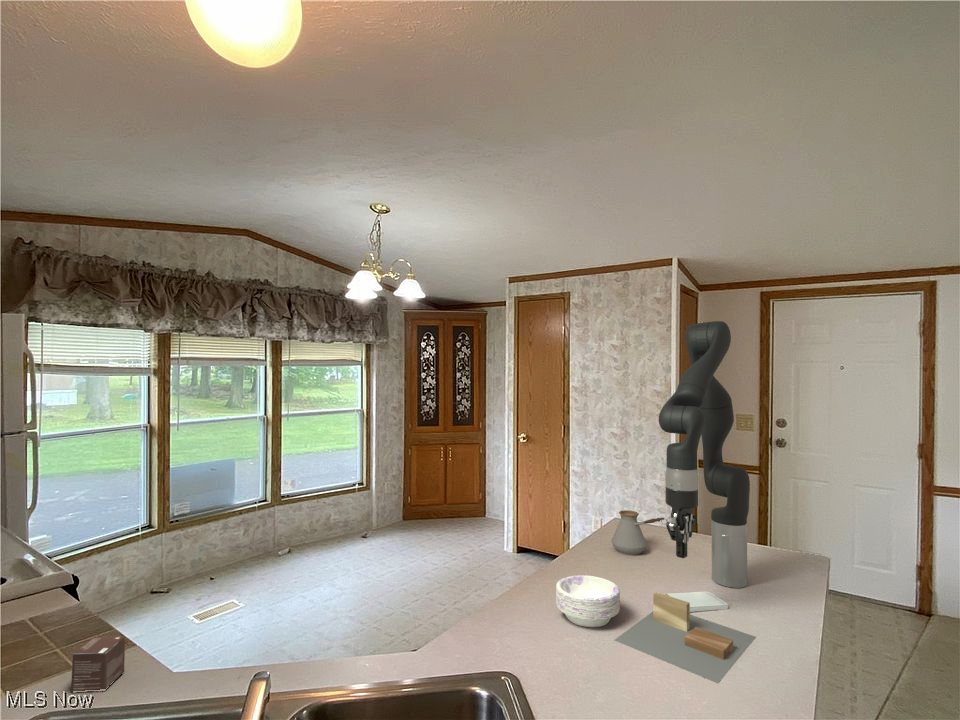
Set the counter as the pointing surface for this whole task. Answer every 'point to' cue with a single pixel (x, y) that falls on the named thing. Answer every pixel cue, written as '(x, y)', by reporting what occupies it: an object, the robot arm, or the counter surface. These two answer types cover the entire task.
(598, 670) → the counter surface
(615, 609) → the paper bowls
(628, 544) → the coffee pot
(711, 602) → the hard drive
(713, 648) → the walnut slab
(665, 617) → the pale oak slab
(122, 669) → the box
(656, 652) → the rubber mat
